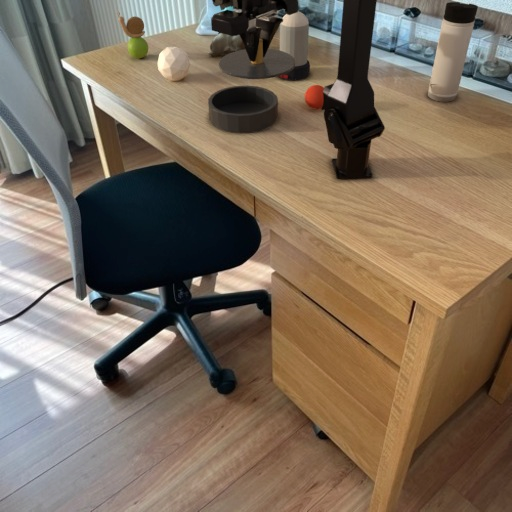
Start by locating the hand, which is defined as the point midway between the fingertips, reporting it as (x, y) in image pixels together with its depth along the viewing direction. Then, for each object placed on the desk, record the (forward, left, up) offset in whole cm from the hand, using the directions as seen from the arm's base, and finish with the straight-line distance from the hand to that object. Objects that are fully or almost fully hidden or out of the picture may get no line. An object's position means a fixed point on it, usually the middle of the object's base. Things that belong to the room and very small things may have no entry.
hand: (257, 59), depth 105 cm
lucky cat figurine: (+37, +4, -13) cm, 39 cm away
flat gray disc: (0, 0, -1) cm, 1 cm away
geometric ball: (+23, +19, -13) cm, 33 cm away
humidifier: (+23, -10, -13) cm, 28 cm away
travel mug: (+7, -42, -13) cm, 44 cm away
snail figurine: (+38, +30, -13) cm, 50 cm away
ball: (+4, -13, -10) cm, 17 cm away
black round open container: (+1, +3, -13) cm, 13 cm away
